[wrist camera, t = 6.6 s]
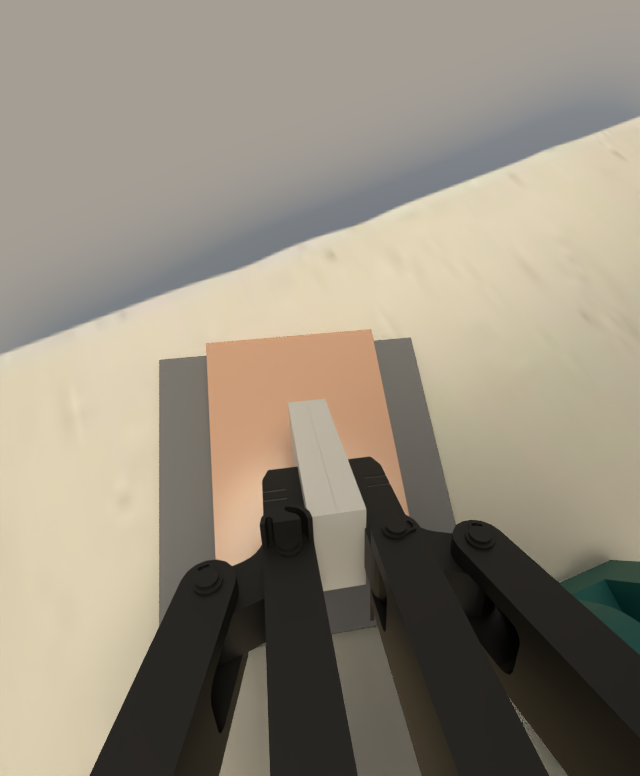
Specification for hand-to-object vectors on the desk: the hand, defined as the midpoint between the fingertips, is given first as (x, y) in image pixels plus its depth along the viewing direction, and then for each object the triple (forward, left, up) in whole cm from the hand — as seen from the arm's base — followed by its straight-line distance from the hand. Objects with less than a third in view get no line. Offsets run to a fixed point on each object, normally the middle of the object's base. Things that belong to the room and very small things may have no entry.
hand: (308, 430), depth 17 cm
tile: (0, +6, -4) cm, 7 cm away
